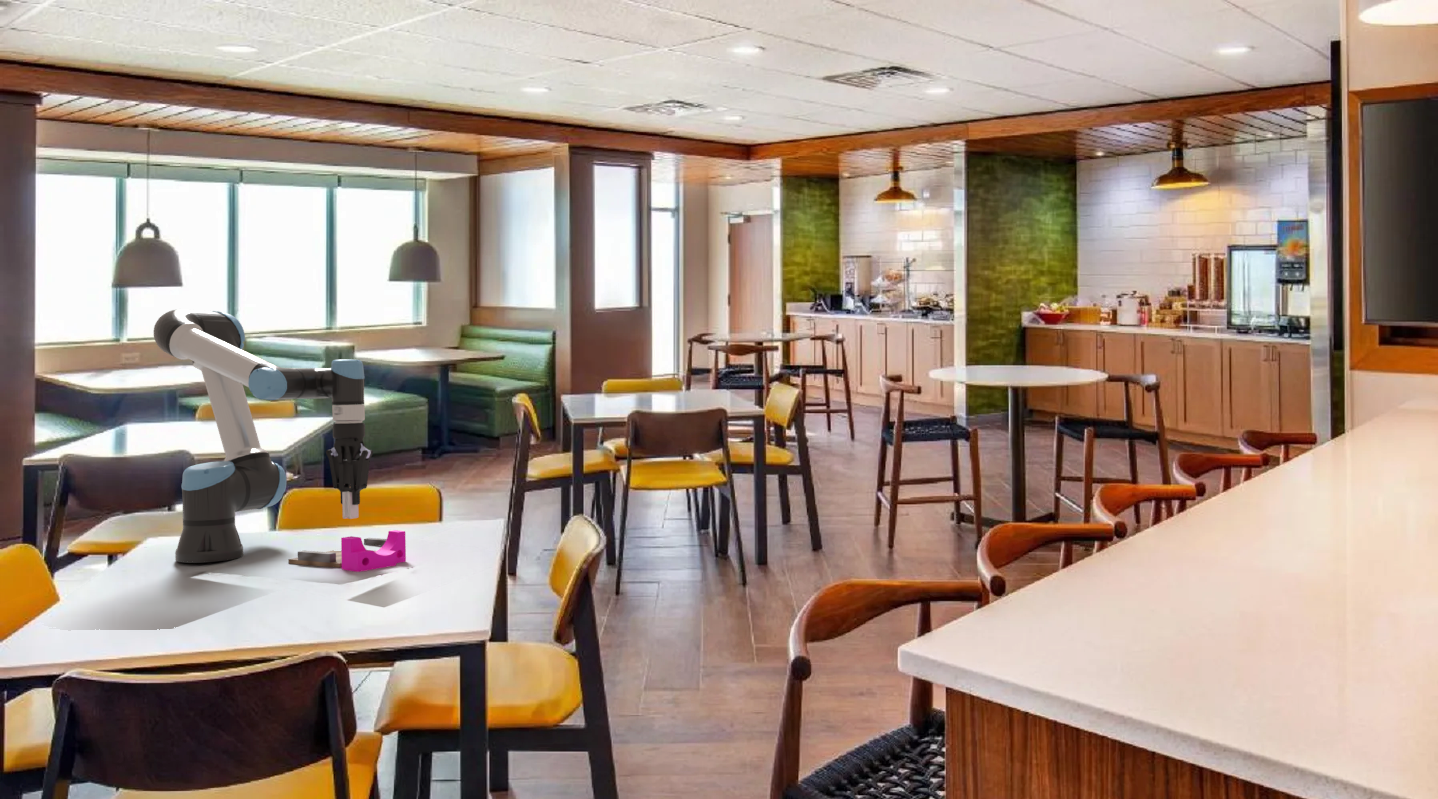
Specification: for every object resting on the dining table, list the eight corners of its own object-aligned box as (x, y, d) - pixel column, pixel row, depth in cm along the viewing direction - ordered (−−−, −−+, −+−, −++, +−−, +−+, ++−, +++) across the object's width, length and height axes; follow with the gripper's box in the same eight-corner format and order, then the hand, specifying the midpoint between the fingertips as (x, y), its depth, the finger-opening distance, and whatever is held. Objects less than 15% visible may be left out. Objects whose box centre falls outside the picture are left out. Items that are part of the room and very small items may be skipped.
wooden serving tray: (288, 563, 254) (288, 550, 254) (360, 548, 276) (360, 537, 276) (339, 567, 248) (339, 554, 248) (409, 552, 269) (409, 540, 269)
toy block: (358, 572, 242) (357, 539, 242) (341, 570, 246) (341, 537, 246) (412, 563, 254) (411, 532, 254) (396, 561, 258) (395, 530, 258)
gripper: (315, 422, 261) (317, 518, 261) (359, 422, 255) (361, 520, 255) (338, 421, 268) (340, 515, 268) (381, 421, 262) (383, 517, 262)
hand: (350, 517), depth 262 cm, fingers closed
